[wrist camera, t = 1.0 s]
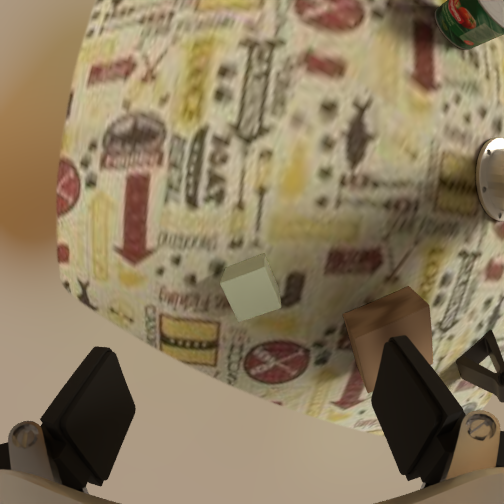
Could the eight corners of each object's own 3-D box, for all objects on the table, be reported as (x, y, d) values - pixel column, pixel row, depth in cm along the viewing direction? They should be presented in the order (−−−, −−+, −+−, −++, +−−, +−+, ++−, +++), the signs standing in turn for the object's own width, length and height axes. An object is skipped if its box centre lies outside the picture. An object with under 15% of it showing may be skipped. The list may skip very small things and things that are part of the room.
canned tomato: (481, 48, 24) (524, 31, 13) (452, 52, 25) (498, 31, 15) (456, 5, 22) (493, -19, 12) (424, 7, 23) (462, -24, 13)
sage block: (264, 252, 34) (264, 267, 30) (279, 289, 36) (281, 307, 31) (225, 267, 35) (219, 283, 30) (241, 302, 36) (238, 322, 32)
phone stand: (460, 377, 40) (489, 417, 28) (455, 360, 39) (488, 402, 27) (494, 347, 38) (527, 382, 27) (490, 329, 37) (527, 364, 25)
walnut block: (408, 286, 35) (429, 305, 29) (416, 341, 37) (432, 363, 32) (342, 314, 36) (354, 338, 31) (357, 367, 39) (367, 393, 33)
